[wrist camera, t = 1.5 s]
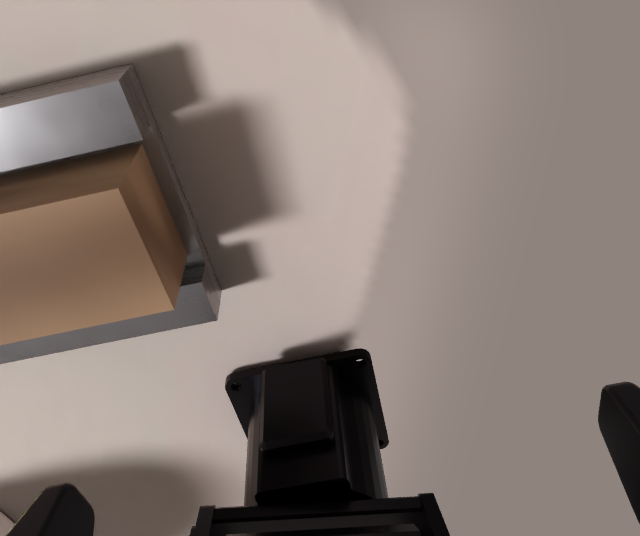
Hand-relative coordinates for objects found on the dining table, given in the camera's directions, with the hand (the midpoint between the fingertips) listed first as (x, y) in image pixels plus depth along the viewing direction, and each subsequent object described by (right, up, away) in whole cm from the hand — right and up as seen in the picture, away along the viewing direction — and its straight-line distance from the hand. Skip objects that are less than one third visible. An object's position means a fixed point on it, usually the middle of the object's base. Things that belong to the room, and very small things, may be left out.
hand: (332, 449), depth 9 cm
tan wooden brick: (-9, +5, +10) cm, 14 cm away
